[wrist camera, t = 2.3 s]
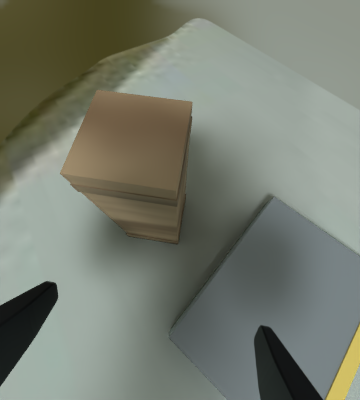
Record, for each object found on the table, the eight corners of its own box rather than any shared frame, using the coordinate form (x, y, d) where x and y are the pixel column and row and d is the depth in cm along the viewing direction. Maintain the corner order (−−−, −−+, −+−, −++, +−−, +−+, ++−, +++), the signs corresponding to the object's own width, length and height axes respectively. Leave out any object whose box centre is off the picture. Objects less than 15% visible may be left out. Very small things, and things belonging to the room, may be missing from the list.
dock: (290, 457, 14) (308, 485, 12) (169, 331, 17) (168, 337, 15) (372, 279, 19) (394, 280, 17) (266, 203, 22) (274, 196, 20)
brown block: (178, 244, 20) (178, 193, 8) (128, 236, 20) (56, 175, 8) (185, 198, 22) (194, 100, 10) (140, 191, 22) (95, 88, 10)
